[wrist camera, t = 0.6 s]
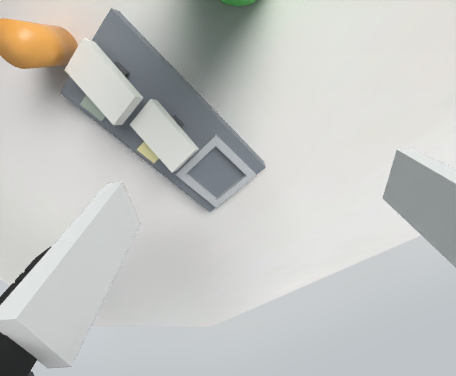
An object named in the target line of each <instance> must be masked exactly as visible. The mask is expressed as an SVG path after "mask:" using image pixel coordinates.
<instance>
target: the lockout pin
mask: <svg viewBox="0 0 456 376" xmlns="http://www.w3.org/2000/svg"><path fill="white" fill-rule="evenodd" d="M77 47H78V45H77V42H76V40H75V39H74V37H73V36H72V35H71V34H70V33H69V32H68V31H67V30H65V29H63V28H61V27H57V26H51V25H44V24H38V23H31V22H25V21H18V20H11V19H0V55H1V56H2V57H3V58H4V59H5V60H6V61H7V62H8V63H10V64H11V65H13V66H15V67H18V68H22V69H28V68H40V67H53V66H65V65H68V63H69V61H70V59H71V58H72V56H73V54H74V53H75V51H76V49H77Z"/></svg>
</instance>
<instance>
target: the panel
mask: <svg viewBox="0 0 456 376" xmlns="http://www.w3.org/2000/svg"><path fill="white" fill-rule="evenodd" d="M92 41H94V42H95V43H96V44H97V45H98V46H99V47H100V48H101V49H102V51H103V52H104V53H105V54H106V55H107V56H108V58H109V59H110V60H111V61H112V62H113V63H114V64H115V66H116V67H117V68H118V69H119V70H120V71H121V73H122V74H123V75H124V76H125V77H126V78H127V79H128V81H129V82H130V83H131V84H132V85H133V86H134V88H135V89H136V90H137V91H138V92H139V93H140V94H141V96H142V97H143V99H142V100H141V102H140V103H139V104H138V106H137V107H136V108H135V109H134V111H133V112H132V113H131V114H130V116H129V117H128V118H127V119H126V121H125V122H124V123H123V124H122V125H113V124H112V123H111V122H110V121H109V120H108V119H107V118H106V116H105V115H104V114H103V113H102V112H101V111H100V110H99V108H98V107H97V106H96V105H95V104H94V103H93V102H92V101H91V99H90V98H89V97H88V96H87V95H86V94H85V93H84V92H83V90H82V89H81V88H80V87H79V86H78V85H77V84H76V83H75V81H74V80H73V79H72V78H71V77H69V79H68V81H67V82H66V84H65V86H64V87H63V89H62V91H61V92H60V93H61V94H62V95H64V96H65V97H66V98H67V99H69V100H70V101H71V102H73V103H74V104H75V105H76V106H78V107H79V108H80V109H81V110H83V111H84V112H85V113H86V114H88V115H89V116H90V117H91V118H93V119H94V120H95V121H96V122H98V123H99V124H100V125H102V126H103V127H104V128H105V129H107V130H108V131H109V132H110V133H112V134H113V135H114V136H115V137H117V138H118V139H119V140H120V141H122V142H123V143H124V144H125V145H127V146H128V147H129V148H130V149H132V150H133V151H134V152H136V153H137V154H138V155H139V156H141V157H142V158H143V159H144V160H146V161H147V162H148V163H149V164H151V165H152V166H153V167H154V168H156V169H157V170H158V171H159V172H161V173H162V174H163V175H164V176H166V177H167V178H168V179H170V180H171V181H172V182H173V183H175V184H176V185H177V186H178V187H180V188H181V189H182V190H183V191H185V192H186V193H187V194H188V195H190V196H191V197H192V198H193V199H195V200H196V201H197V202H198V203H200V204H201V205H202V206H204V207H205V208H206V209H207V210H209V211H210V212H211V211H212V210H213V209H214V208H217V207H218V206H219V205H221V204H222V203H223V202H224V201H226V200H227V199H228V198H229V197H230V196H232V195H233V194H234V193H235V192H237V191H238V190H239V189H240V188H242V187H243V186H244V185H245V184H247V183H248V182H249V181H250V180H252V179H253V178H254V177H255V176H256V175H257V174H258V173H259V172H260V171H262V170H263V169H264V168H265V164H264V161H263V160H262V159H261V158H260V157H259V156H258V155H257V154H256V153H255V152H254V151H253V150H252V149H251V148H250V147H249V146H248V145H247V144H246V143H245V142H244V141H243V140H242V139H241V138H240V137H239V136H238V134H237V133H236V132H235V131H234V130H233V129H232V128H231V127H230V126H229V125H228V124H227V123H226V122H225V121H224V120H223V119H222V118H221V117H220V116H219V115H218V114H217V113H216V112H215V111H214V110H213V108H212V107H211V106H210V105H209V104H208V103H207V102H206V101H205V100H204V99H203V98H202V97H201V96H200V95H199V94H198V93H197V92H196V91H195V90H194V89H193V88H192V87H191V86H190V85H189V84H188V82H187V81H186V80H185V79H184V78H183V77H182V76H181V75H180V74H179V73H178V72H177V71H176V70H175V69H174V68H173V67H172V66H171V65H170V64H169V63H168V62H167V61H166V60H165V59H164V58H163V57H162V55H161V54H160V53H159V52H158V51H157V50H156V49H155V48H154V47H153V46H152V45H151V44H150V43H149V42H148V41H147V40H146V39H145V38H144V37H143V36H142V35H141V34H140V33H139V32H138V31H137V29H136V28H135V27H134V26H133V25H132V24H131V23H130V22H129V21H128V20H127V19H126V18H125V17H124V16H123V15H122V14H121V13H120V12H119V11H117V10H114V9H112V8H111V9H110V11H109V13H108V14H107V16H106V18H105V19H104V21H103V23H102V24H101V26H100V28H99V29H98V31H97V33H96V34H95V36H94V38H93V39H92ZM150 99H153V100H157V101H158V102H159V103H160V104H161V105H162V106H163V108H164V109H165V110H166V111H167V112H168V113H169V115H170V116H171V117H172V118H173V119H174V120H175V121H176V123H177V124H178V125H179V126H180V127H181V128H182V130H183V131H184V132H185V133H186V134H187V135H188V137H189V138H190V139H191V140H192V141H193V142H194V144H195V145H196V146H197V147H198V148H199V150H198V151H197V152H196V153H195V154H194V155H193V156H191V157H190V158H189V159H188V160H187V161H186V162H185V163H184V164H183V165H182V166H181V167H180V168H179V169H178V170H177V171H175V172H173V173H172V172H171V171H170V170H169V169H168V168H167V167H166V165H165V164H164V163H163V162H162V161H161V160H160V159H159V158H158V156H157V155H156V154H155V153H154V152H153V151H152V150H151V148H150V147H149V146H148V145H147V144H146V143H145V142H144V140H143V139H142V138H141V137H140V136H139V135H138V134H137V133H136V131H135V130H134V129H133V128H132V127H131V126H130V124H131V122H132V121H133V120H134V119H135V117H136V116H137V115H138V114H139V112H140V111H141V110H142V109H143V108H144V106H145V105H146V104H147V103H148V101H149V100H150Z"/></svg>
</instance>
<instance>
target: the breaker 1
mask: <svg viewBox="0 0 456 376" xmlns="http://www.w3.org/2000/svg"><path fill="white" fill-rule="evenodd" d="M65 71H66V72H67V73H68V75H69V76H70V77H71V78H72V79H73V80H74V81H75V83H76V84H77V85H78V86H79V87H80V88H81V89H82V90H83V92H84V93H85V94H86V95H87V96H88V97H89V98H90V99H91V101H92V102H93V103H94V104H95V105H96V106H97V107H98V108H99V110H100V111H101V112H102V113H103V114H104V115H105V116H106V118H107V119H108V120H109V121H110V122H111V123H112V124H113V125H122V124H123V123H124V122H125V121H126V119H127V118H128V117H129V116H130V114H131V113H132V112H133V111H134V109H135V108H136V107H137V106H138V104H139V103H140V102H141V100H142V99H143V97H142V96H141V94H140V93H139V92H138V91H137V90H136V89H135V88H134V86H133V85H132V84H131V83H130V82H129V81H128V79H127V78H126V77H125V76H124V75H123V74H122V73H121V71H120V70H119V69H118V68H117V67H116V66H115V64H114V63H113V62H112V61H111V60H110V59H109V58H108V56H107V55H106V54H105V53H104V52H103V51H102V49H101V48H100V47H99V46H98V45H97V44H96V43H95V42H94V41H92V40H89V39H87V38H85V37H83V39H82V41H81V42H80V44H79V46H78V47H77V49H76V51H75V53H74V54H73V56H72V58H71V59H70V61H69V63H68V65H67V66H66V68H65Z"/></svg>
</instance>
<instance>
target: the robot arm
mask: <svg viewBox="0 0 456 376" xmlns="http://www.w3.org/2000/svg"><path fill="white" fill-rule="evenodd" d="M383 199H384V200H385V201H386V202H387V203H388V204H389V205H390V206H391V207H392V208H393V209H394V210H396V211H397V212H398V213H399V214H400V215H401V216H402V217H403V218H404V219H405V220H406V221H407V222H408V223H409V224H410V225H411V226H412V227H413V228H415V229H416V230H417V231H418V232H419V233H420V234H421V235H422V236H423V237H424V238H425V239H426V240H427V241H428V242H429V243H430V244H431V245H432V246H434V247H435V248H436V249H437V250H438V251H439V252H440V253H441V254H442V255H443V256H444V257H445V258H446V259H447V260H448V261H449V262H450V263H451V264H453V265H454V266H455V267H456V169H455V168H453V167H451V166H449V165H447V164H445V163H443V162H441V161H439V160H437V159H435V158H433V157H432V156H430V155H428V154H426V153H424V152H422V151H420V150H418V149H416V148H405V149H397V151H396V155H395V158H394V161H393V165H392V168H391V172H390V175H389V178H388V182H387V185H386V188H385V192H384V195H383ZM140 224H141V223H140V220H139V218H138V216H137V214H136V211H135V209H134V207H133V204H132V202H131V200H130V197H129V195H128V193H127V190H126V188H125V186H124V183H123V181H121V182H112V183H107V184H106V185H105V187H104V188H103V189H102V190H101V191H100V192H99V193H98V195H97V196H96V197H95V198H94V199H93V200H92V201H91V203H90V204H89V205H88V206H87V207H86V208H85V209H84V211H83V212H82V213H81V214H80V215H79V216H78V217H77V218H76V220H75V221H74V222H73V223H72V224H71V225H70V226H69V228H68V229H67V230H66V231H65V232H64V233H63V234H62V236H61V237H60V238H59V239H58V240H57V241H56V242H55V244H54V245H53V246H52V247H49V248H48V249H47V250H45V251H44V252H43V253H41V254H40V255H39V256H37V257H36V258H35V259H34V260H33V261H32V262H31V264H30V265H29V266H28V267H27V268H26V269H25V272H24V273H21V275H20V276H19V277H18V278H17V279H16V280H15V283H13V284H11V286H10V287H9V288H8V289H7V290H6V291H5V292H4V293H3V294H2V295H1V297H0V376H34V374H33V372H31V369H32V367H33V366H34V364H35V362H36V361H37V360H38V361H39V362H40V363H42V364H43V365H44V366H45V367H47V368H60V367H72V365H73V363H74V361H75V359H76V357H77V355H78V353H79V350H80V348H81V346H82V344H83V342H84V340H85V338H86V336H87V334H88V332H89V330H90V328H91V326H92V324H93V321H94V319H95V317H96V315H97V313H98V311H99V309H100V307H101V305H102V303H103V301H104V299H105V297H106V295H107V293H108V290H109V288H110V286H111V284H112V282H113V280H114V278H115V276H116V274H117V272H118V270H119V268H120V266H121V264H122V261H123V259H124V257H125V255H126V253H127V251H128V249H129V247H130V245H131V243H132V241H133V239H134V237H135V235H136V232H137V230H138V228H139V226H140Z"/></svg>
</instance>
